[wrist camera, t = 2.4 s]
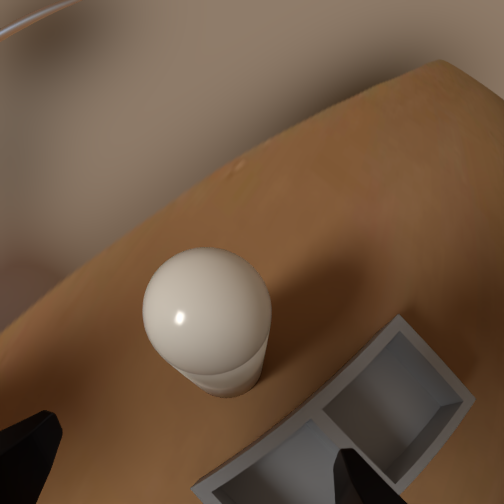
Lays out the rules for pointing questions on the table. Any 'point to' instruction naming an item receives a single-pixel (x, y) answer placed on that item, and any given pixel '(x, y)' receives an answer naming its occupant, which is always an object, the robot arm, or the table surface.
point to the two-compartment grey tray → (351, 426)
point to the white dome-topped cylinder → (210, 319)
